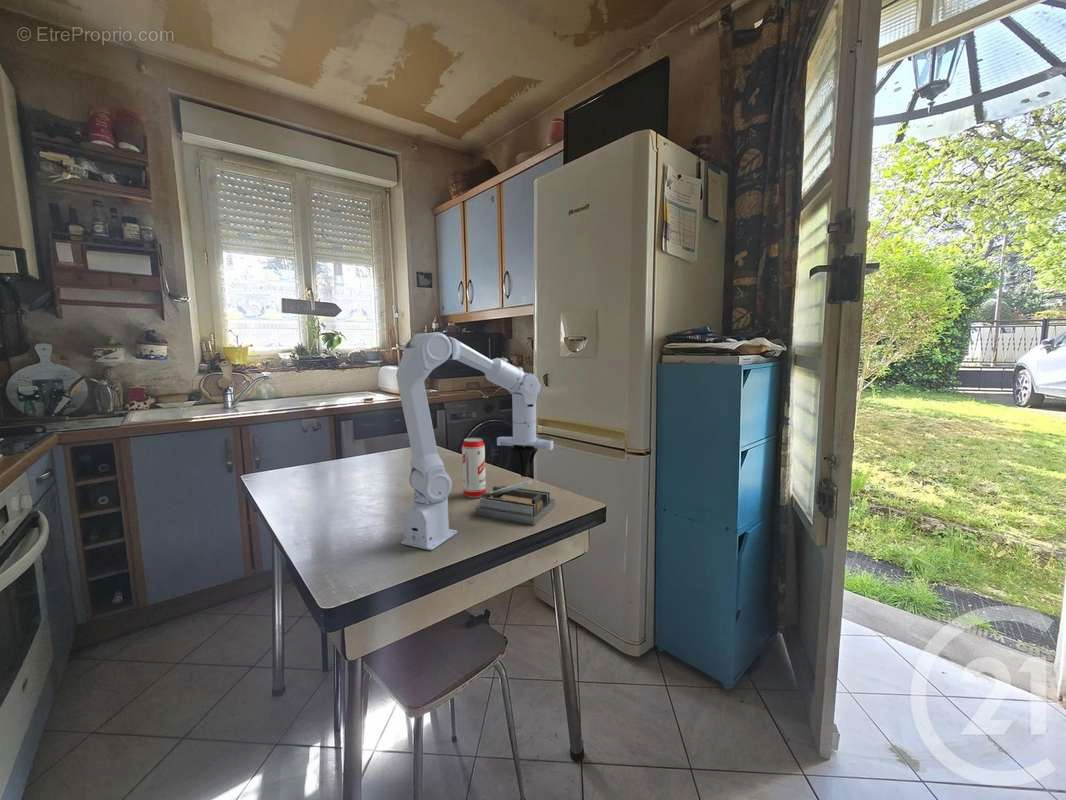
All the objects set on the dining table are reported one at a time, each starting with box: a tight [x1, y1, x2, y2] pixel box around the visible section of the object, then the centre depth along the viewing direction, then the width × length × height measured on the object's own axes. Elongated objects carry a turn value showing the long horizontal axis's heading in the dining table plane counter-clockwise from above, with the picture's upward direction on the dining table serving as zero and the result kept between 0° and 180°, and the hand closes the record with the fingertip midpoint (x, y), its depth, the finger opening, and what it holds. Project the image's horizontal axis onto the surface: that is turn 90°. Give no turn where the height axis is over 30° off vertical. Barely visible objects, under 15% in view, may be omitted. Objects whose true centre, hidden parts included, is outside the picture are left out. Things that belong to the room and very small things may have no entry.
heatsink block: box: [474, 485, 556, 526], centre depth 108 cm, size 13×16×4 cm
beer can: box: [461, 437, 487, 499], centre depth 119 cm, size 6×6×16 cm
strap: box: [489, 479, 534, 497], centre depth 108 cm, size 4×12×1 cm, turn 66°
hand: (525, 475), depth 106 cm, fingers closed
